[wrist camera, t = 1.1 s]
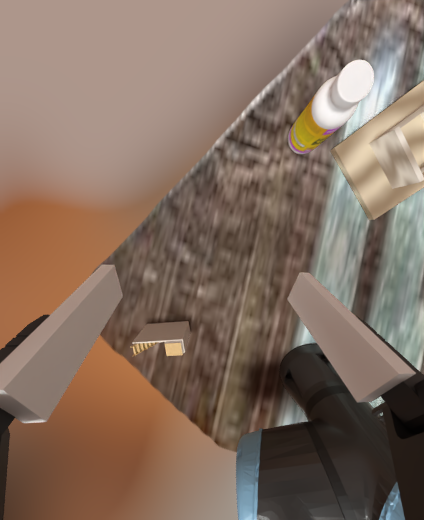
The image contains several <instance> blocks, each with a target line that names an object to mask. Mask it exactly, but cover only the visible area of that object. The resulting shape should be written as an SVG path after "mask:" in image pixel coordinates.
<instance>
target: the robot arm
mask: <svg viewBox="0 0 424 520" xmlns="http://www.w3.org/2000/svg"><path fill="white" fill-rule="evenodd" d="M122 297H123V295H122V291H121V287H120V284H119V280H118V276H117V273H116V269H115V265H101V266H100V267H99V268H98V269H97V270H96V271H95V272H94V273H93V274H92V275H91V276H90V277H89V278H88V279H87V280H86V281H85V282H84V283H83V284H82V285H81V286H80V287H79V288H78V289H77V290H76V291H75V292H74V293H72V295H70V296H69V297H68V298H67V299H66V300H65V301H64V302H63V303H62V304H61V305H60V306H59V307H58V308H57V309H56V310H55V311H54V312H53V313H52V314H51V315H43V316H41V317H40V318H38V319H36V320H35V321H33V322H32V323H30V324H29V325H27V326H26V327H25V328H24V329H23V330H22V331H21V332H20V333H18V334H17V335H16V338H13V339H12V340H11V341H10V342H9V343H7V344H6V346H5V348H2V349H1V350H0V520H3V515H4V503H5V490H6V477H7V464H8V451H9V438H10V433H9V429H8V426H9V425H10V424H11V422H12V421H13V420H14V418H16V419H18V420H19V421H21V422H23V423H33V422H47V420H48V418H49V417H50V415H51V414H52V412H53V410H54V408H55V407H56V405H57V404H58V402H59V400H60V399H61V397H62V395H63V394H64V392H65V391H66V389H67V387H68V386H69V384H70V382H71V381H72V379H73V377H74V376H75V374H76V372H77V371H78V369H79V367H80V366H81V364H82V362H83V361H84V359H85V358H86V356H87V354H88V353H89V351H90V349H91V348H92V346H93V344H94V343H95V341H96V339H97V338H98V336H99V335H100V333H101V331H102V330H103V328H104V326H105V325H106V323H107V321H108V320H109V318H110V317H111V315H112V313H113V312H114V310H115V308H116V307H117V305H118V303H119V302H120V300H121V298H122ZM287 300H288V301H289V302H290V304H291V305H292V307H293V308H294V310H295V311H296V313H297V314H298V316H299V317H300V319H301V320H302V322H303V323H304V325H305V326H306V328H307V329H308V330H309V332H310V333H311V335H312V336H313V338H314V339H315V341H316V342H317V344H318V345H315V344H311V345H304V346H300V347H298V348H296V349H294V350H292V351H291V352H290V353H288V354H287V355H286V356H285V358H284V359H283V361H282V363H281V365H280V378H281V380H282V383H283V385H284V387H285V389H286V391H287V392H288V394H289V395H290V396H291V397H292V399H293V400H294V401H295V402H296V404H297V405H298V406H299V407H300V409H301V410H302V411H303V412H304V414H305V415H306V417H307V419H308V422H301V423H296V424H290V425H285V426H279V427H274V428H269V429H259V431H255V432H252V433H248V434H245V435H243V436H242V437H241V439H240V441H239V443H238V448H237V458H236V490H237V509H238V520H424V375H423V374H422V373H421V372H419V371H418V370H417V369H416V368H415V367H414V366H413V365H412V364H411V363H410V362H409V361H407V360H406V359H405V358H404V357H403V356H402V355H401V354H400V353H399V352H398V351H397V350H395V349H394V348H393V347H392V346H391V345H390V344H389V343H388V342H385V339H383V338H382V337H381V336H380V335H379V334H377V332H376V331H375V330H374V329H373V328H371V327H370V326H369V325H368V324H367V323H366V322H364V321H363V320H361V319H360V318H358V317H357V316H355V315H354V314H353V313H352V312H350V311H349V310H348V309H347V308H346V307H345V306H344V305H343V304H342V303H341V302H340V301H339V300H338V299H337V298H336V297H334V296H333V295H332V294H331V293H330V292H329V291H328V290H327V289H326V288H325V287H324V286H323V285H322V284H321V283H320V282H319V281H317V280H316V279H315V278H314V277H313V276H312V275H311V274H310V273H301V272H300V273H299V275H298V277H297V280H296V282H295V284H294V286H293V288H292V290H291V292H290V295H289V297H288V299H287ZM380 396H381V397H382V399H383V400H384V401H385V402H384V403H382V404H381V405H379V406H377V407H376V408H373V407H372V406H371V404H370V403H369V402H372V401H373V400H375V399H377V398H378V397H380ZM382 412H383V415H382V416H380V415H379V414H380V413H382Z"/></svg>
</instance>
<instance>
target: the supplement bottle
mask: <svg viewBox="0 0 424 520" xmlns="http://www.w3.org/2000/svg"><path fill="white" fill-rule="evenodd" d="M373 81H374V72H373V69H372V67H371V65H370V64H369V63H368V62H366V61H364V60H355V61H352V62H350V63H349V64H347V65H346V66H345V67H344V68H343V70H342V71H341V72H340V73H339V74H338V76H335V77H333V78H331V79H329V80H328V81H326V82H325V83H324V84H323V85H322V86H321V87H320V89H319V90H318V91H317V93H316V94H315V95H314V97H313V98H312V100H311V101H310V102H309V104H308V105H307V107H306V108H305V109H304V111H303V112H302V113H301V115H300V116H299V118H298V119H297V120H296V122H295V123H294V124H293V126H292V127H291V129H290V131H289V135H288V143H289V146H290V148H291V149H292V151H294V152H295V153H297V154H306V153H309V152H311V151H312V150H313V149H315V148H316V147H317V146H318V145H319V144H321V143H322V142H323V141H324V140H325V139H327V138H328V137H329V136H330V135H331V134H332V133H334V132H335V131H336V130H337V129H338V128H340V127H341V126H342V125H343V124H344V123H345V122H347V121H348V120H349V119H350V118H351V116H352V115H353V114H354V112H355V110H356V108H357V106H358V103H359V102H360V101H361V100H362V99H363V98H364V97H365V96H366V95H367V94H368V93H369V91H370V90H371V88H372V85H373Z"/></svg>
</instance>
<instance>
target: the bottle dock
mask: <svg viewBox="0 0 424 520" xmlns="http://www.w3.org/2000/svg"><path fill="white" fill-rule="evenodd" d="M331 153H332V154H333V156H334V158H335V160H336V162H337V163H338V165H339V167H340V169H341V171H342V172H343V174H344V176H345V178H346V179H347V181H348V183H349V185H350V187H351V188H352V190H353V192H354V194H355V196H356V197H357V199H358V201H359V203H360V204H361V206H362V208H363V210H364V212H365V213H366V215H367V217H368V219H369V220H374V219H376V218H377V217H379V216H381V215H382V214H384V213H385V212H387V211H388V210H390V209H391V208H393V207H394V206H396V205H397V204H399V203H401V202H402V201H404V200H405V199H407V198H408V197H410V196H411V195H413V194H414V193H416V192H417V191H419V190H421V189H422V188H424V81H422V82H421V83H420V84H418V85H417V86H416V87H414V88H413V89H412V90H410V91H409V92H408V93H406V94H405V95H404V96H402V97H401V98H400V99H398V100H397V101H396V102H394V103H393V104H392V105H390V106H389V107H388V108H386V109H385V110H384V111H382V112H381V113H380V114H378V115H377V116H376V117H374V118H373V119H372V120H370V121H369V122H368V123H367V124H365V125H364V126H363V127H361V128H360V129H359V130H357V131H356V132H355V133H353V134H352V135H351V136H349V137H348V138H347V139H345V140H344V141H343V142H341V143H340V144H339V145H337V146H336V147H335V148H333V149H332V150H331Z"/></svg>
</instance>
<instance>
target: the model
mask: <svg viewBox="0 0 424 520" xmlns="http://www.w3.org/2000/svg"><path fill="white" fill-rule="evenodd" d="M189 336H190V327H189V321H182V322H168V323H154V324H146V325H145V327H144V328H143V329H142V331H141V332H140V333H139V335H138V336H137V337H136V338H135V340H134V341H133V342H132V343H133V344H134V345H133V346H131V347H130V348H132V347H133V350H134V354H135V355H137V354H139V353H141V352H142V351H144V350H146V349H148V348H150V347H152V346H153V345H155V344H157V343H159V342H165V348H166V354H167V356H174V355H183V353H185V350H186V347H187V343H188V339H189ZM135 355H133V356H135Z"/></svg>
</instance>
